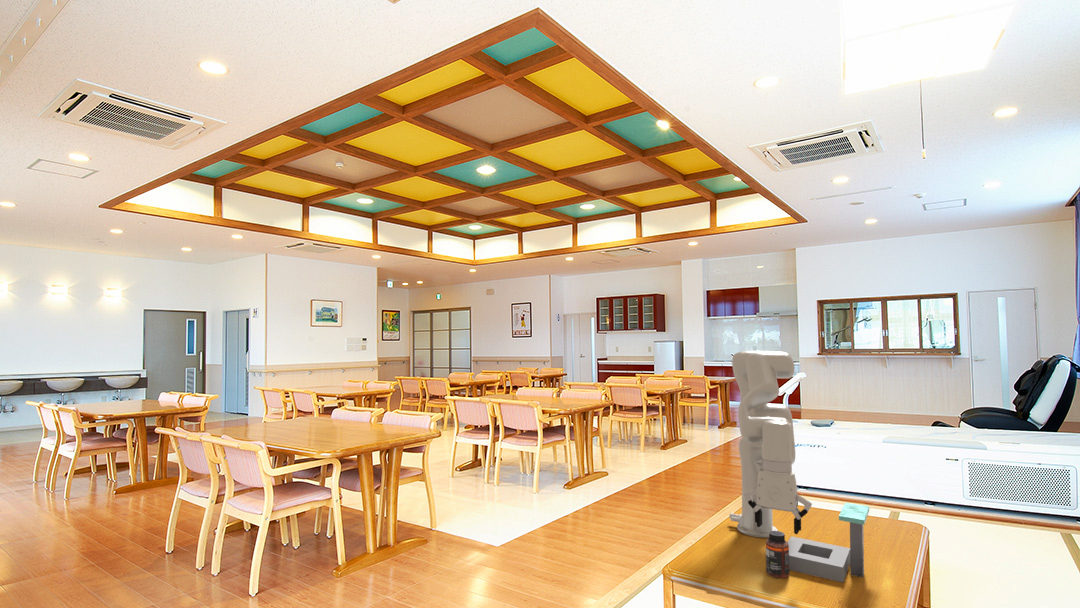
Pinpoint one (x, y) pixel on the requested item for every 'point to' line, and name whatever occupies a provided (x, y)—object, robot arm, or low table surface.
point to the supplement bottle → (777, 555)
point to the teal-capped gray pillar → (855, 535)
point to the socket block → (818, 559)
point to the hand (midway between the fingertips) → (777, 529)
